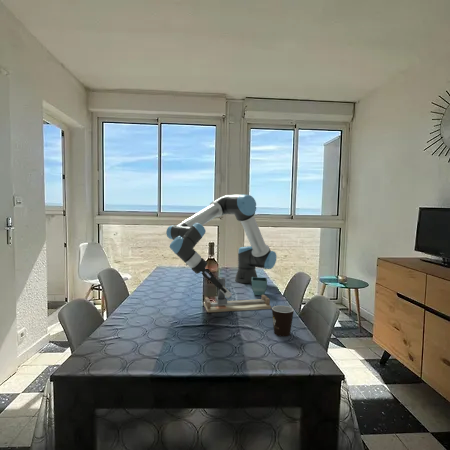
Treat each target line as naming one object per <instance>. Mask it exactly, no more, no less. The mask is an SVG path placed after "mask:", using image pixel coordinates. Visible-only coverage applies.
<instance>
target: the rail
mask: <svg viewBox="0 0 450 450" xmlns="http://www.w3.org/2000/svg"><path fill="white" fill-rule="evenodd" d="M260 296H261V299H242V300H238V299H237V300H227V304H220V305H218V303H217V302H216V301H211V300H210V298H209V297H208V296H207V297H204V302H205V303H204V302H203V306H204V308H205V310H206V313H221V312H238V311H256V310H257V311H258V310H270V309H271V310H272V305H271V303H270V302H271V299H270V298H269V297H268V296H267V295H265V294H264V295H260ZM211 302H212V303H211Z"/></svg>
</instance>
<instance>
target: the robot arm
mask: <svg viewBox="0 0 450 450" xmlns="http://www.w3.org/2000/svg"><path fill="white" fill-rule="evenodd" d="M256 206H257V202H256V199H255V198H254V197H253V196H252V195H251V194H243V193H242V194H226V195H222V196H220V197H219V198H216V199H215V200H213V201H212V202H210V203H209V205H208V206H206V207H205V208H203V209H201V210H199V211H198V212H196V213H195V214H192V216H190V217H188V218H187V219H184V220H183V221H182V222H180V223H178V224H176V225H175V224H172V225H169V226H168V227H167V228H166V233H165V235H166V236H167V238H168V239H169V240H172V241H171V243H170V244H169V248H170V250H171V251H172V252H173V253H174V254H175V255H176V256H177V257H179V258H180V260H182V261H183V263H185V266H186V267H187V266H188V267H189V268H190V269H191V270H192V271H193V272H194V273H195V274H196V275H199V273H201V274H202V276H203V277H204V278H206V279H207V280H208V281H210V282H211V283H212V285H214V286H215V287H216V288H217V292H218V291H219V290H220V291H221V292H222V293H223V294H224V295H225V298H226V299H230V297H232V295H233V294H232V293H231V291H229V289H228V288H226V286H225V287H224V286H223V285H222V284H221V283H220V282H219V281H218V278H216V277H215V276H214V274H213V272H211V270H210V269H209V268H208V269H205V268H207V264H208V262H207V260H206V259H204V258H203V257H202V256H201V254H199V253H198V252H197V251H196V250H195V249H194V248H195V246H197V244H198V243H199V242H200V241H201V240H202V239H203V237H204V235H205V234H206V228H205V227H204V225H205V224H206V225H207V223H208V222H210V221H212V220H214V219H215V218H220V217H222V216H224V215H234V216H235V219H236V221H238V222H240V224H241V226H242V228H243V231H244V233H245V235H246V237H247V239H248V243H249V244H250V246H249V245H248V246H241V247H239V248H238V251H237V252H238V253H237V254H238V255H237V272H236V275H235V277H234V278H235V279H234V280H235V282H236V283H241V284H252V277H258V274H257V270H256V268H259V269H263V270H271V269H273V268H274V267H275V265H276V262H277V258H278V257H277V253H276V251H274V250H271V248H270V246H269V244H266V243H265V240H264V237H263V234H262V233H261V230H260V227H259V225H258V222H257V220H256V218H255V214H256V211H257V207H256ZM209 272H210V273H209Z"/></svg>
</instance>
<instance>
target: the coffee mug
mask: <svg viewBox="0 0 450 450" xmlns="http://www.w3.org/2000/svg"><path fill="white" fill-rule="evenodd" d="M271 311H272V313H271V314H272V325H273V334H274V335H275V336H277V337H283V338H284V337H289V336H291V330H292V323H293V317H294V308H293V307H291V306H287V305H275V306H271Z"/></svg>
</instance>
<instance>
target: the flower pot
mask: <svg viewBox="0 0 450 450" xmlns="http://www.w3.org/2000/svg"><path fill="white" fill-rule="evenodd" d="M267 286H268V277H260V276H257V277H252V283H251V290H252V293H253V295H254V296H261V295H265V294H266V291H267V288H268V287H267Z"/></svg>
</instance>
